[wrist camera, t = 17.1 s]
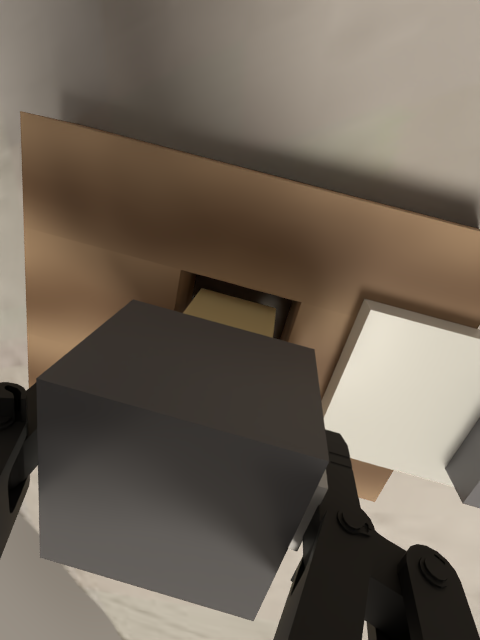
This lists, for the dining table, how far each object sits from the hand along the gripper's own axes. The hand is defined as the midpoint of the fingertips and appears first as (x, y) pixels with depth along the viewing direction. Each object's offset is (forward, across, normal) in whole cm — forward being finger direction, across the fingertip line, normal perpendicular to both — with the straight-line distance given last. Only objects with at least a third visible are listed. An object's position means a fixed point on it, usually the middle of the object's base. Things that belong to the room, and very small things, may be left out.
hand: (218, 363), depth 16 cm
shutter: (+2, +10, 0) cm, 10 cm away
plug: (+3, 0, 0) cm, 3 cm away
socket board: (+6, 0, 0) cm, 6 cm away
